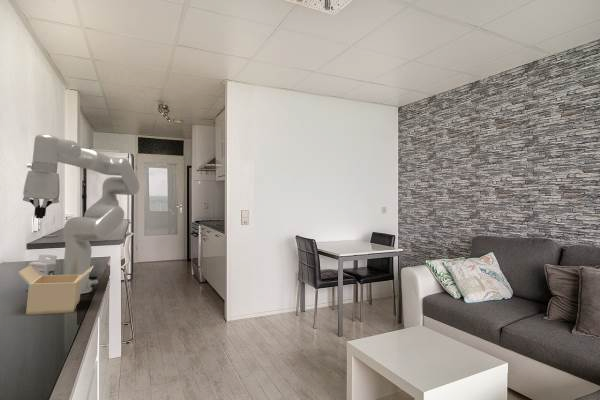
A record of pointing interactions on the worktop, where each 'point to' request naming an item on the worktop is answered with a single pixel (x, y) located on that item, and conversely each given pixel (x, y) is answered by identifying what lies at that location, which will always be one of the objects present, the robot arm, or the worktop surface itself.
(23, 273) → the flap
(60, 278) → the carton
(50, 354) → the worktop surface
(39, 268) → the ink box
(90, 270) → the flap
